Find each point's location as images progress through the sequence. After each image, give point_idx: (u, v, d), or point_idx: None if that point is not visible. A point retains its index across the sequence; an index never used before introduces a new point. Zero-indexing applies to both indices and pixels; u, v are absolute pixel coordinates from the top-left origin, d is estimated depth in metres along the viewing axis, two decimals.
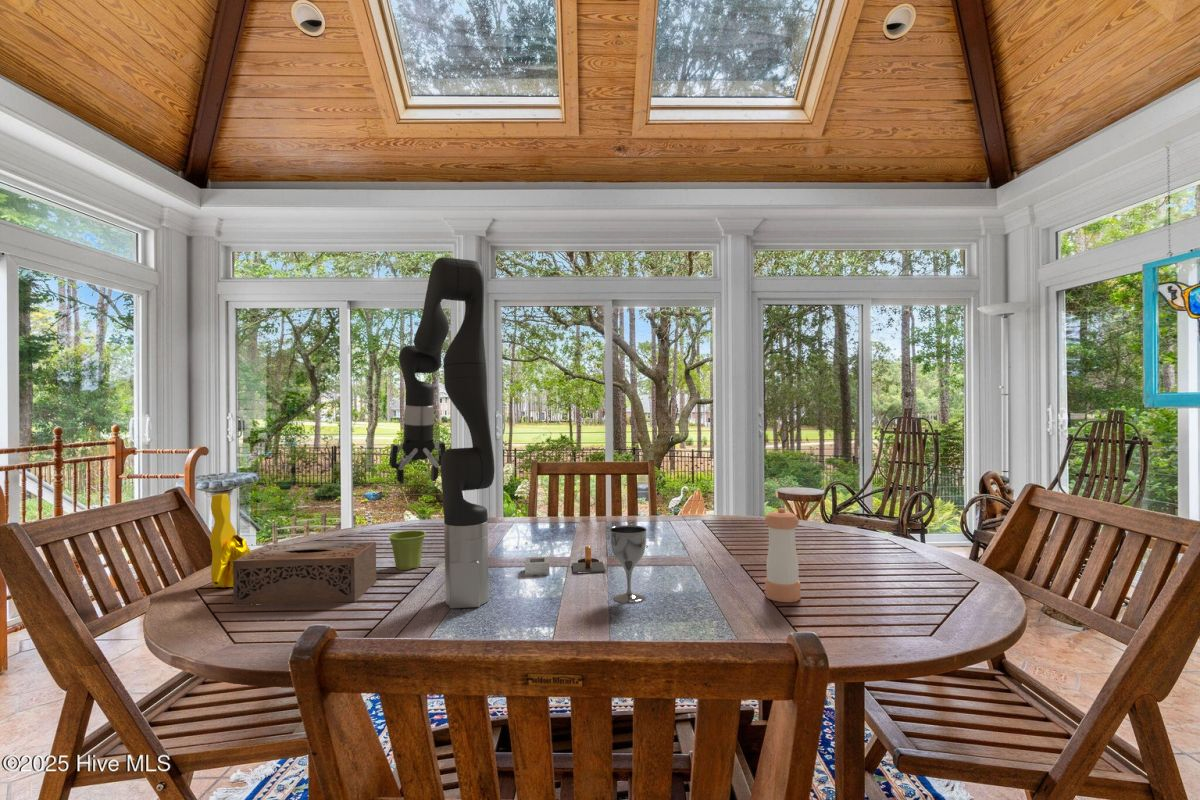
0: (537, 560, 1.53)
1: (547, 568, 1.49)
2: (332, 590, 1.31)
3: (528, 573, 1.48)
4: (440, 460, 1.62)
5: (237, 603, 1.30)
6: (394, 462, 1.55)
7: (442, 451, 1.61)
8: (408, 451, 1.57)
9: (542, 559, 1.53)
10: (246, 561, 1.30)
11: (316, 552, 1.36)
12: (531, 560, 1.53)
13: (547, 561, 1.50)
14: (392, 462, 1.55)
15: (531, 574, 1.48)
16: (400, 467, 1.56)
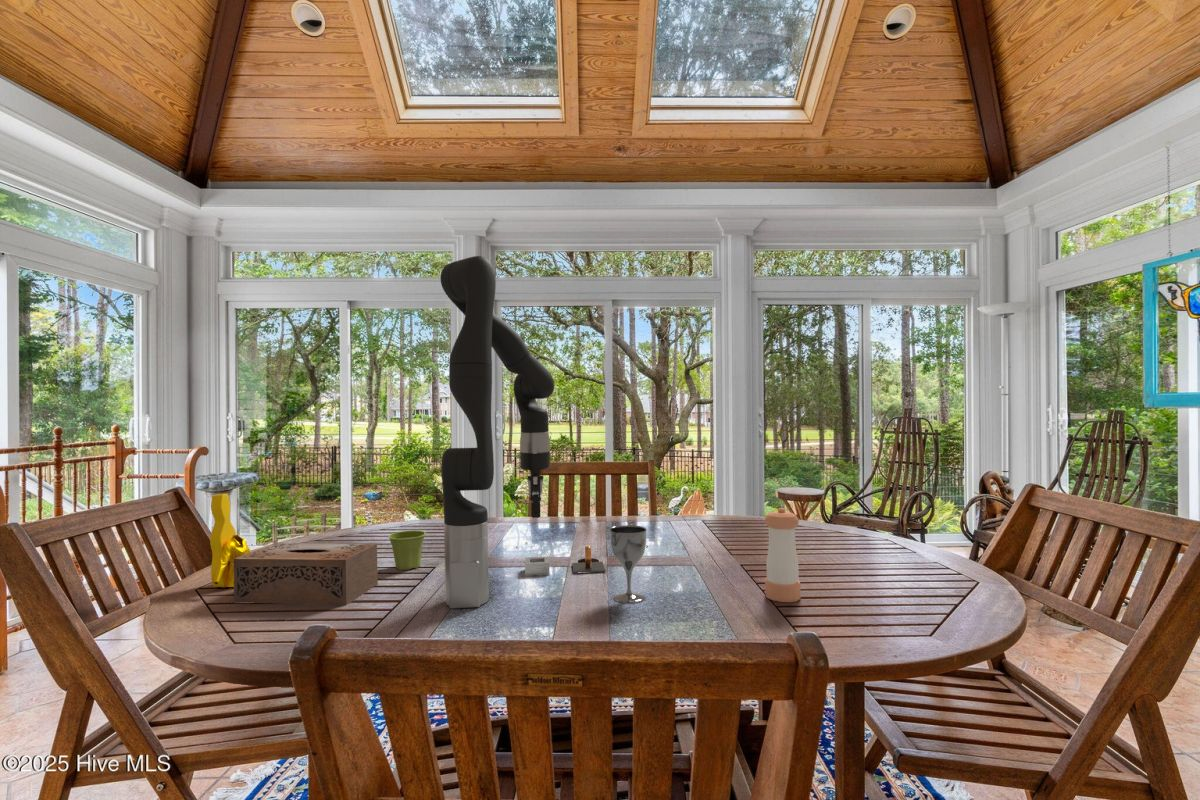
0: (537, 560, 1.53)
1: (547, 568, 1.49)
2: (325, 591, 1.30)
3: (528, 573, 1.48)
4: (534, 496, 1.46)
5: (237, 600, 1.32)
6: None
7: (530, 485, 1.45)
8: None
9: (542, 559, 1.53)
10: (245, 559, 1.31)
11: (314, 552, 1.36)
12: (531, 560, 1.53)
13: (547, 561, 1.50)
14: None
15: (531, 574, 1.48)
16: None
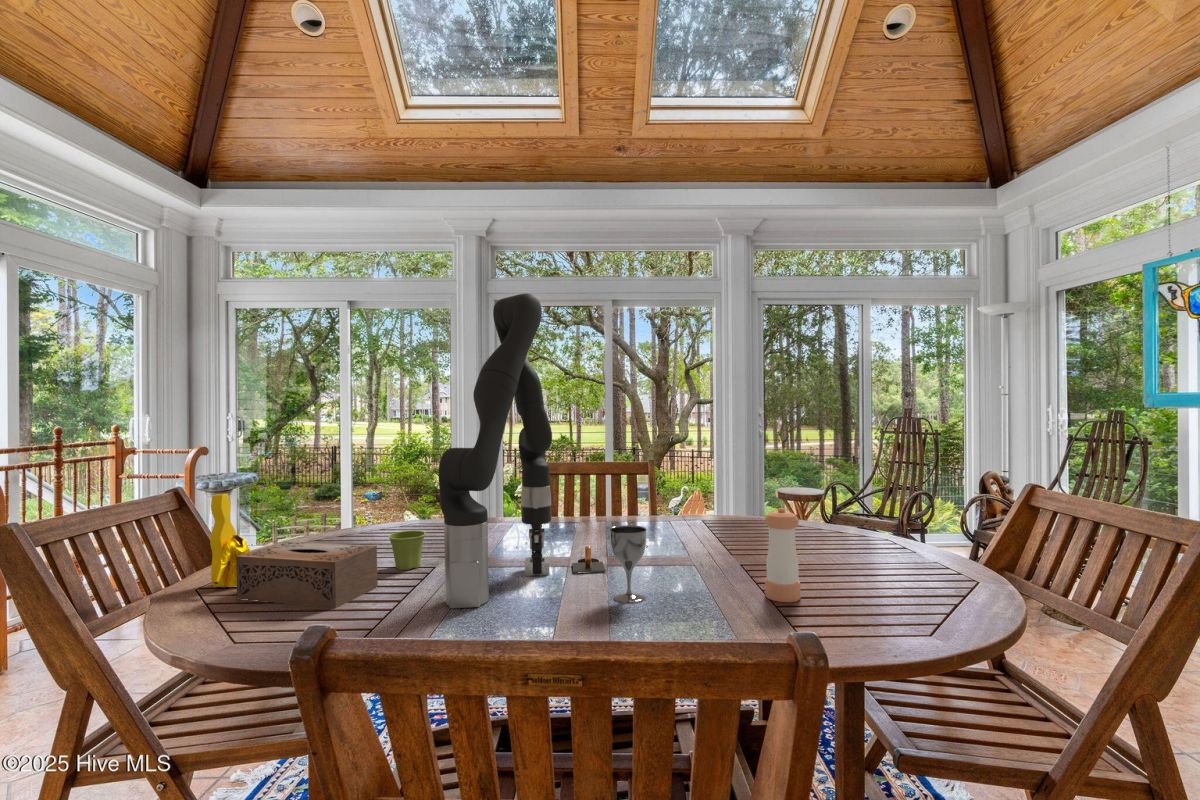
0: None
1: (547, 568, 1.49)
2: (316, 593, 1.29)
3: (528, 573, 1.48)
4: (535, 553, 1.47)
5: (239, 597, 1.34)
6: None
7: (531, 543, 1.46)
8: None
9: (542, 559, 1.53)
10: (246, 557, 1.33)
11: (312, 553, 1.35)
12: (531, 560, 1.53)
13: (547, 561, 1.50)
14: None
15: (531, 574, 1.48)
16: None
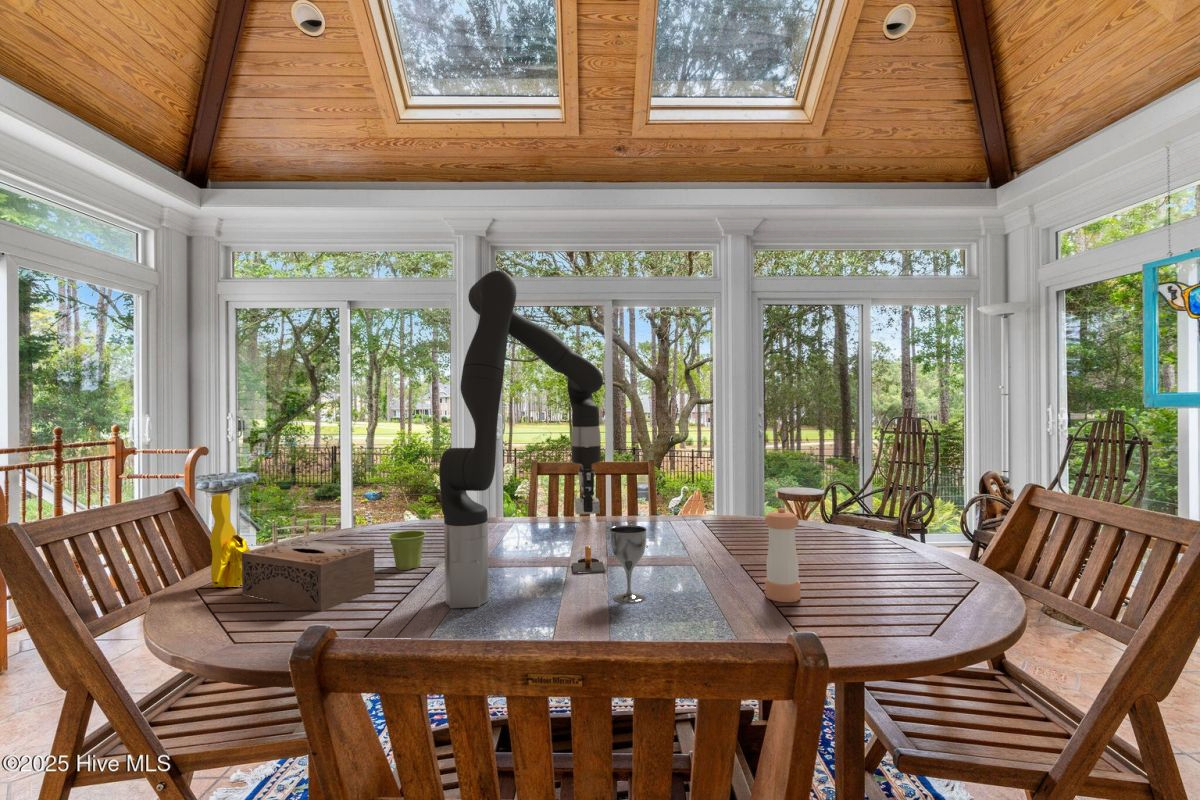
0: None
1: (597, 506, 1.51)
2: (305, 595, 1.28)
3: (579, 511, 1.51)
4: (587, 490, 1.49)
5: (244, 593, 1.36)
6: None
7: (583, 480, 1.48)
8: None
9: None
10: (250, 555, 1.36)
11: (309, 553, 1.35)
12: (580, 500, 1.56)
13: (597, 500, 1.53)
14: None
15: (582, 512, 1.51)
16: None
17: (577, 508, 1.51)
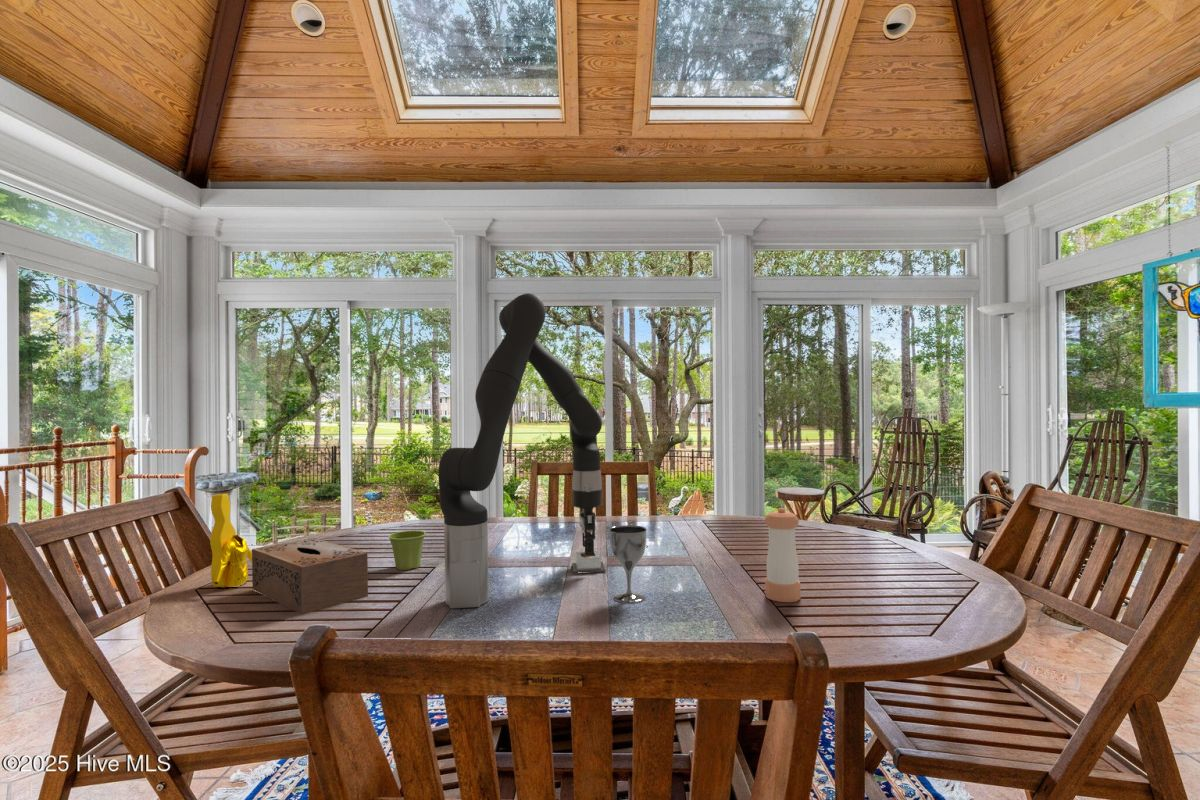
0: None
1: (599, 562, 1.51)
2: (292, 596, 1.27)
3: (580, 567, 1.51)
4: None
5: (254, 589, 1.40)
6: None
7: (584, 524, 1.48)
8: None
9: None
10: (257, 551, 1.39)
11: (306, 554, 1.35)
12: (581, 554, 1.56)
13: (598, 555, 1.53)
14: None
15: (583, 568, 1.51)
16: (581, 529, 1.59)
17: (578, 564, 1.51)
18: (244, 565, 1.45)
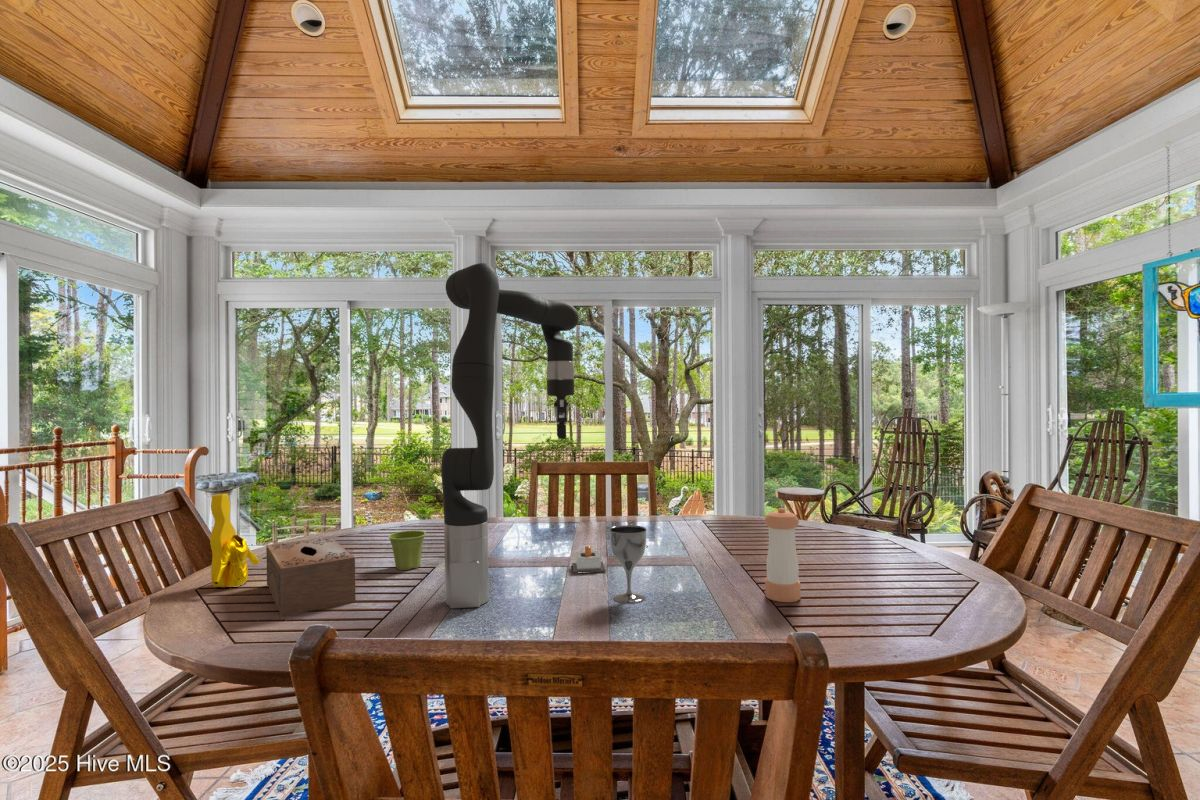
0: None
1: (599, 562, 1.51)
2: (278, 596, 1.27)
3: (580, 567, 1.51)
4: None
5: (267, 584, 1.43)
6: None
7: (557, 408, 1.58)
8: None
9: (592, 553, 1.56)
10: (268, 548, 1.42)
11: (302, 554, 1.35)
12: (581, 554, 1.56)
13: (598, 555, 1.53)
14: None
15: (583, 568, 1.51)
16: (556, 420, 1.69)
17: (578, 564, 1.51)
18: (244, 565, 1.45)
